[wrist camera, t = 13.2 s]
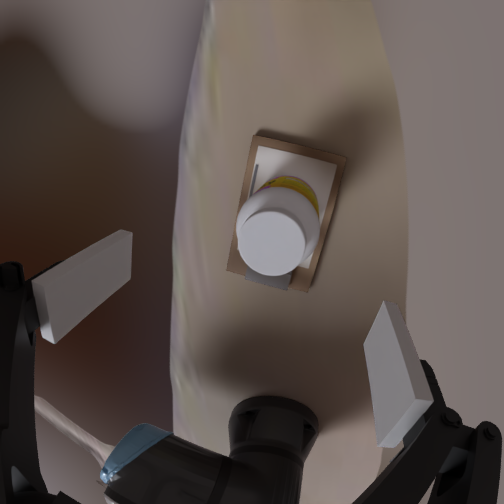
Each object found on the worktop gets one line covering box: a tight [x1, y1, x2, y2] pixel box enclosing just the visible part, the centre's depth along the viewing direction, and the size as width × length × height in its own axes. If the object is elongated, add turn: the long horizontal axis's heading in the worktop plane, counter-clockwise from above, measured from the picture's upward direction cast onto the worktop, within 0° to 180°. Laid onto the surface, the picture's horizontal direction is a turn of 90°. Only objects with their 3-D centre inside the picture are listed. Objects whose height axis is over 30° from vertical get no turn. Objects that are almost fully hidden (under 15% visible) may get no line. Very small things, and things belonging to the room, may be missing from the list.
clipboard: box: [226, 135, 347, 292], centre depth 33 cm, size 16×10×2 cm, turn 168°
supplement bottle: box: [236, 175, 320, 276], centre depth 27 cm, size 7×7×13 cm
